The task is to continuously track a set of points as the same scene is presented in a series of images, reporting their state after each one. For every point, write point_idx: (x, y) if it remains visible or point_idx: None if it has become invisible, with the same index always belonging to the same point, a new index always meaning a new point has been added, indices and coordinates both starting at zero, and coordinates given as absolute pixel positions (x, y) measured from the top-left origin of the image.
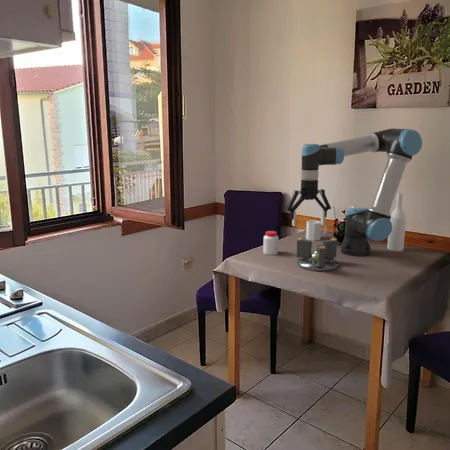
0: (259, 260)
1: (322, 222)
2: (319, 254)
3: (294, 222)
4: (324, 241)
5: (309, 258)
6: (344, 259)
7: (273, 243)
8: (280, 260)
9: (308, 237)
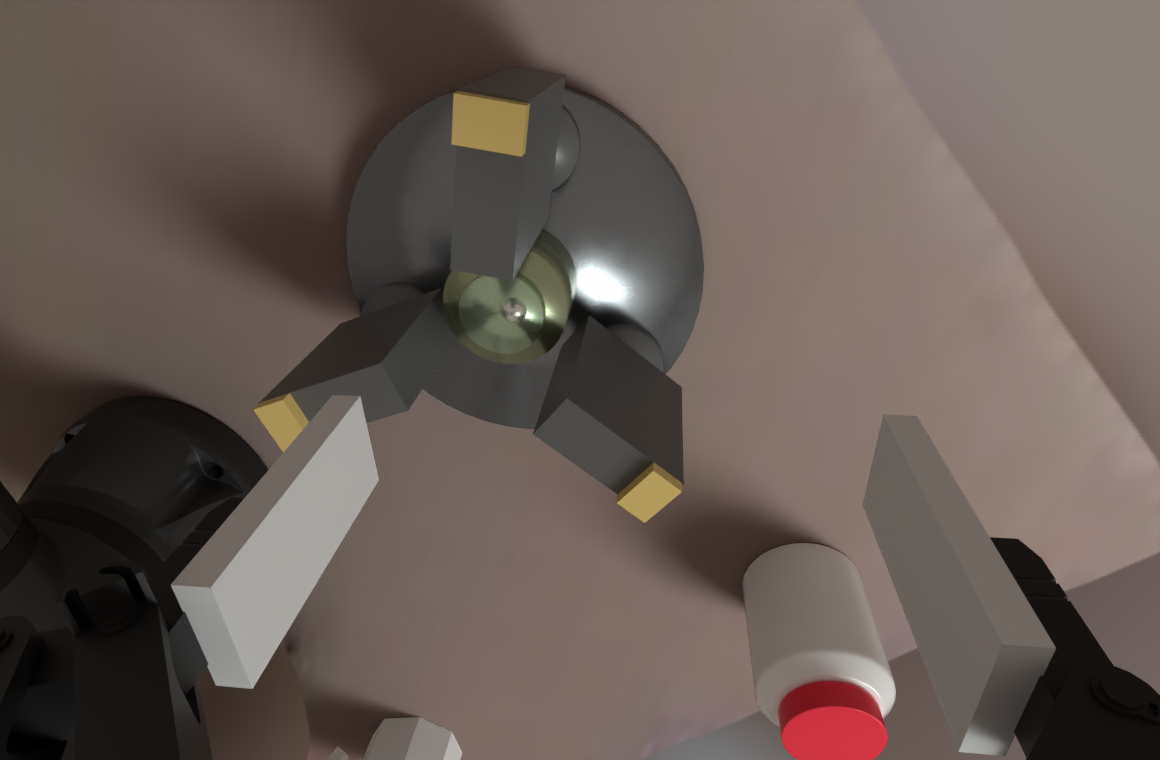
0: (976, 452)
1: (343, 432)
2: (542, 90)
3: (931, 464)
4: (399, 391)
5: (585, 320)
6: (281, 353)
7: (819, 616)
8: (799, 421)
9: (447, 748)
